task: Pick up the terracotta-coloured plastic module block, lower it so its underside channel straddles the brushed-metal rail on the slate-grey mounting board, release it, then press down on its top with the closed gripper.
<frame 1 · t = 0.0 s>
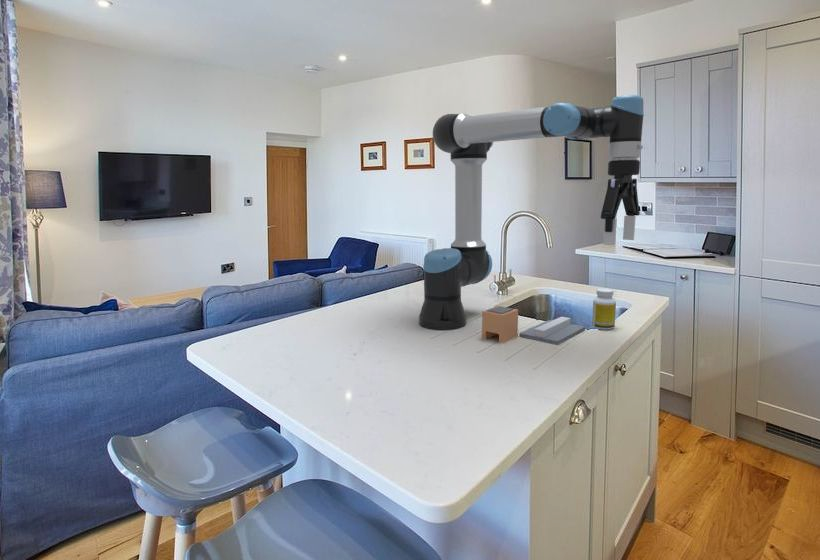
hand: (619, 242, 133), 28 cm above the worktop, fingers open, 13 cm apart
rail board: (552, 333, 148), on the worktop
module: (499, 337, 146), on the worktop
pill bottle: (603, 328, 153), on the worktop
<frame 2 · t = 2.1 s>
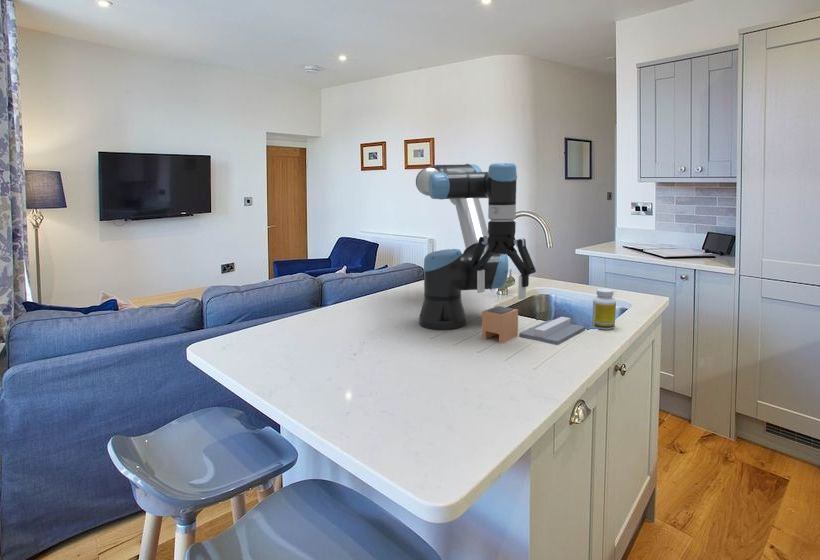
hand: (500, 295, 143), 12 cm above the worktop, fingers open, 13 cm apart
nothing on the worktop moved.
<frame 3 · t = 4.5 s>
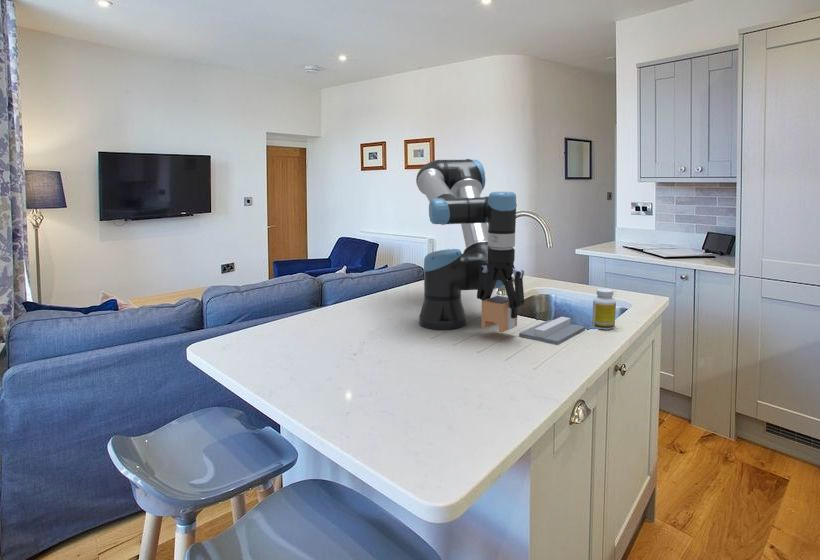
hand: (499, 325, 146), 3 cm above the worktop, fingers closed on module, 7 cm apart
module: (499, 326, 146), point 3 cm above the worktop, touching gripper
everything else where it was.
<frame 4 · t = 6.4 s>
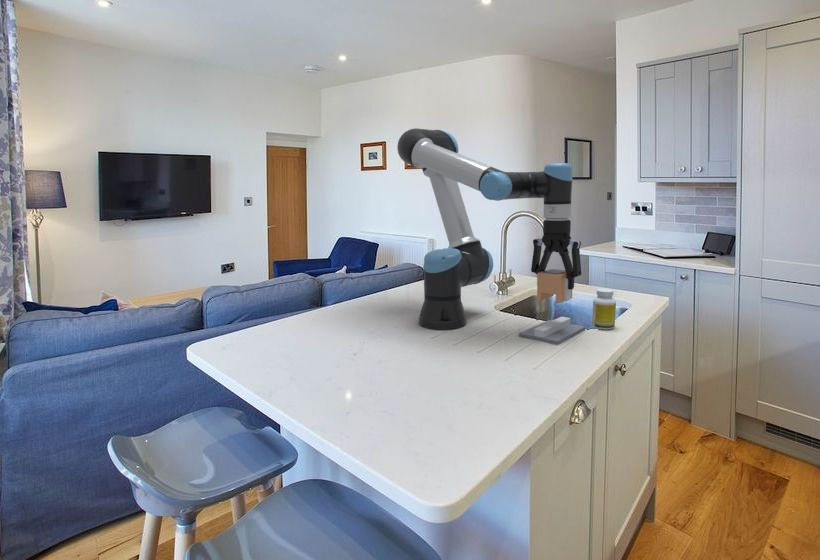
hand: (554, 298, 146), 11 cm above the worktop, fingers closed on module, 7 cm apart
module: (554, 299, 146), point 10 cm above the worktop, touching gripper
everything else where it was.
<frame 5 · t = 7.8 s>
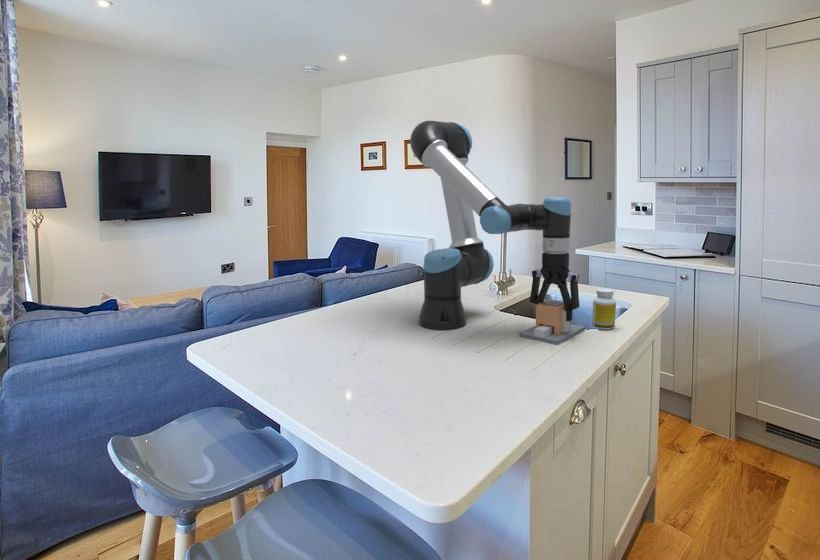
hand: (553, 328, 148), 1 cm above the worktop, fingers closed on module, 7 cm apart
module: (552, 329, 148), point 1 cm above the worktop, touching gripper
everything else where it was.
when the fingers open (1 cm above the worktop, at t = 8.1 s): module stays where it is, resting on rail board.
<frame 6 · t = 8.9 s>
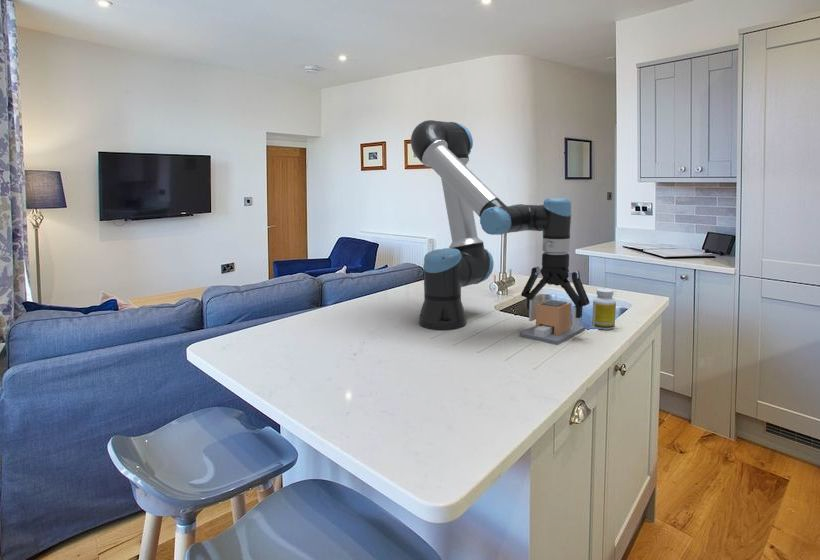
hand: (553, 324, 148), 3 cm above the worktop, fingers open, 13 cm apart
module: (552, 330, 148), point 1 cm above the worktop, touching rail board
everything else where it was.
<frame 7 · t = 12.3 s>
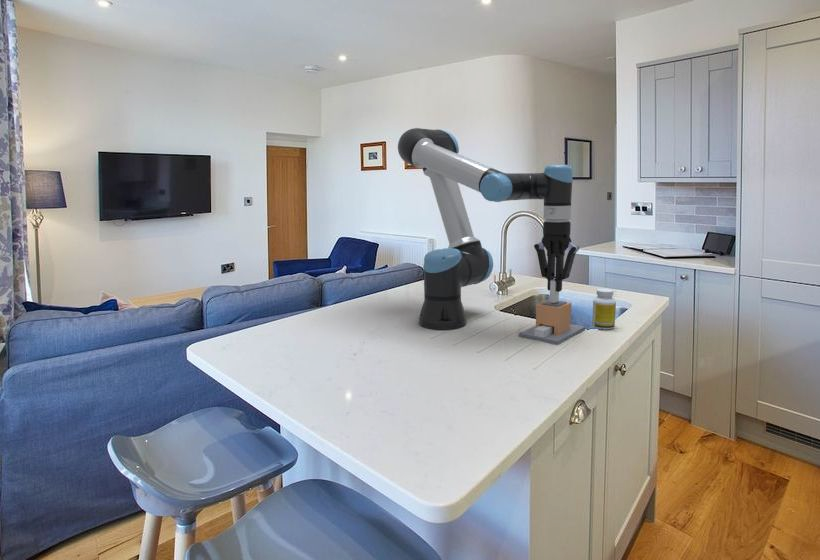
hand: (554, 301, 147), 10 cm above the worktop, fingers closed
module: (552, 330, 148), point 1 cm above the worktop, touching gripper, rail board
everything else where it was.
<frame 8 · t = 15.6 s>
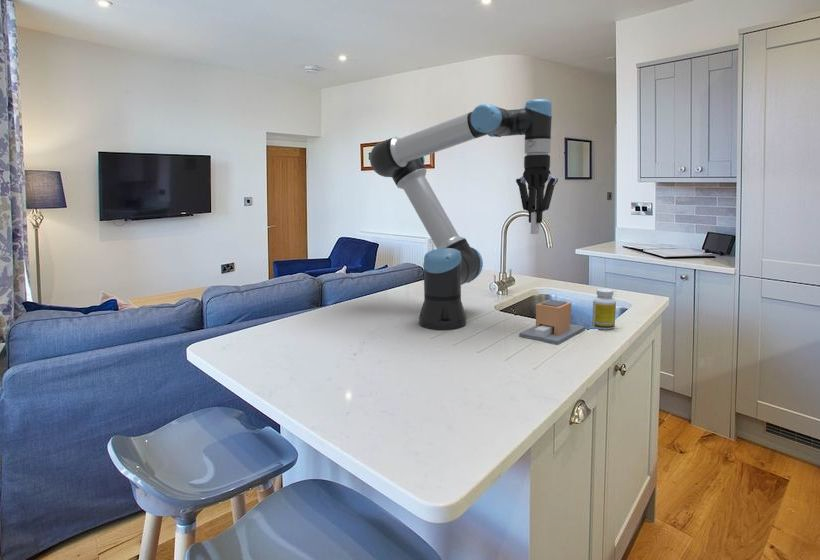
hand: (534, 233, 154), 28 cm above the worktop, fingers closed
module: (552, 330, 148), point 1 cm above the worktop, touching rail board
everything else where it was.
at the end: module inside the target area on the rail board (0.1 cm from its centre), point 1.0 cm above the rail board's base; module tilted 0°; the gripper is holding nothing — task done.
